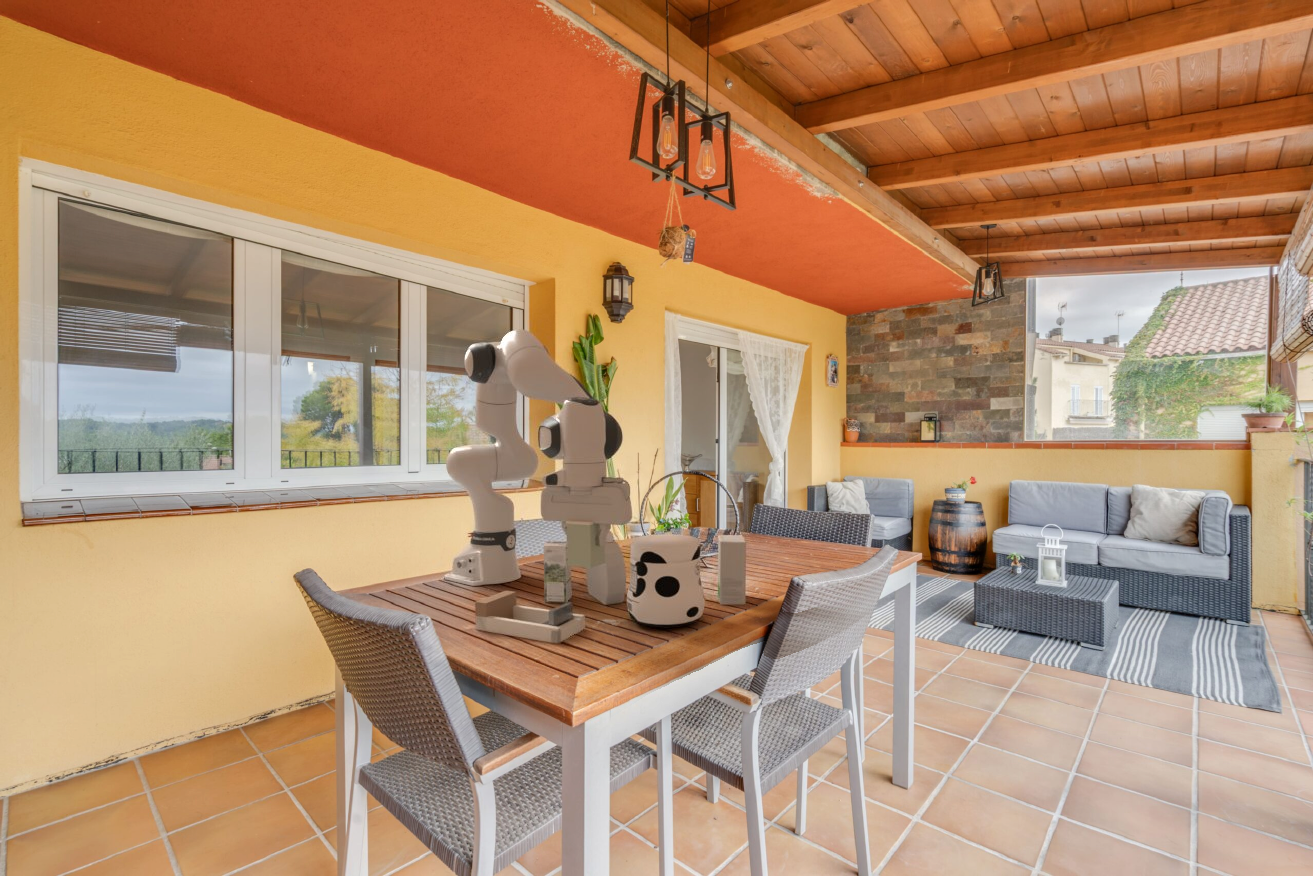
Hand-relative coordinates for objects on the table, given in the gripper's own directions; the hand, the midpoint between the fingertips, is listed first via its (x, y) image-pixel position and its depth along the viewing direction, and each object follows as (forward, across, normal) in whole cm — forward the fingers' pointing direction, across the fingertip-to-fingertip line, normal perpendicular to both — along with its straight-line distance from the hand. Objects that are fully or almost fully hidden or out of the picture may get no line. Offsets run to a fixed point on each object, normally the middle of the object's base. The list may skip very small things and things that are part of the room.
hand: (586, 544), depth 125 cm
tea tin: (+4, 0, 0) cm, 4 cm away
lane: (+19, +15, 0) cm, 24 cm away
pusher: (+19, +8, 0) cm, 21 cm away
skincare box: (+20, -17, -38) cm, 46 cm away
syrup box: (+19, +23, -21) cm, 37 cm away
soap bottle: (+19, +13, -27) cm, 36 cm away
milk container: (+20, -9, -17) cm, 28 cm away
